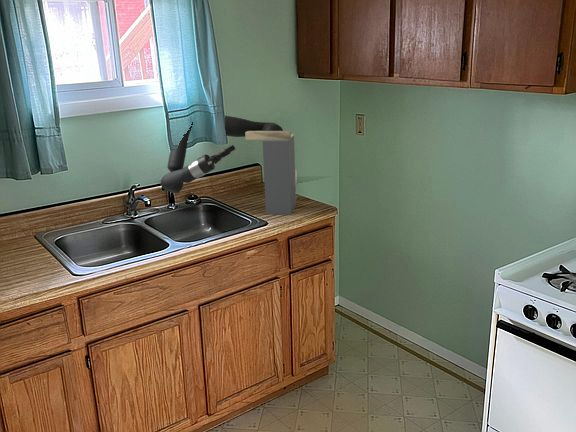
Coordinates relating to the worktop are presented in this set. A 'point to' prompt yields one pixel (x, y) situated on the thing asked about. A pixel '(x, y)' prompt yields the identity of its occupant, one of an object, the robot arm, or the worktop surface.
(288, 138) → the birch slat
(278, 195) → the tall grey upright prism
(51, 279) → the worktop surface
